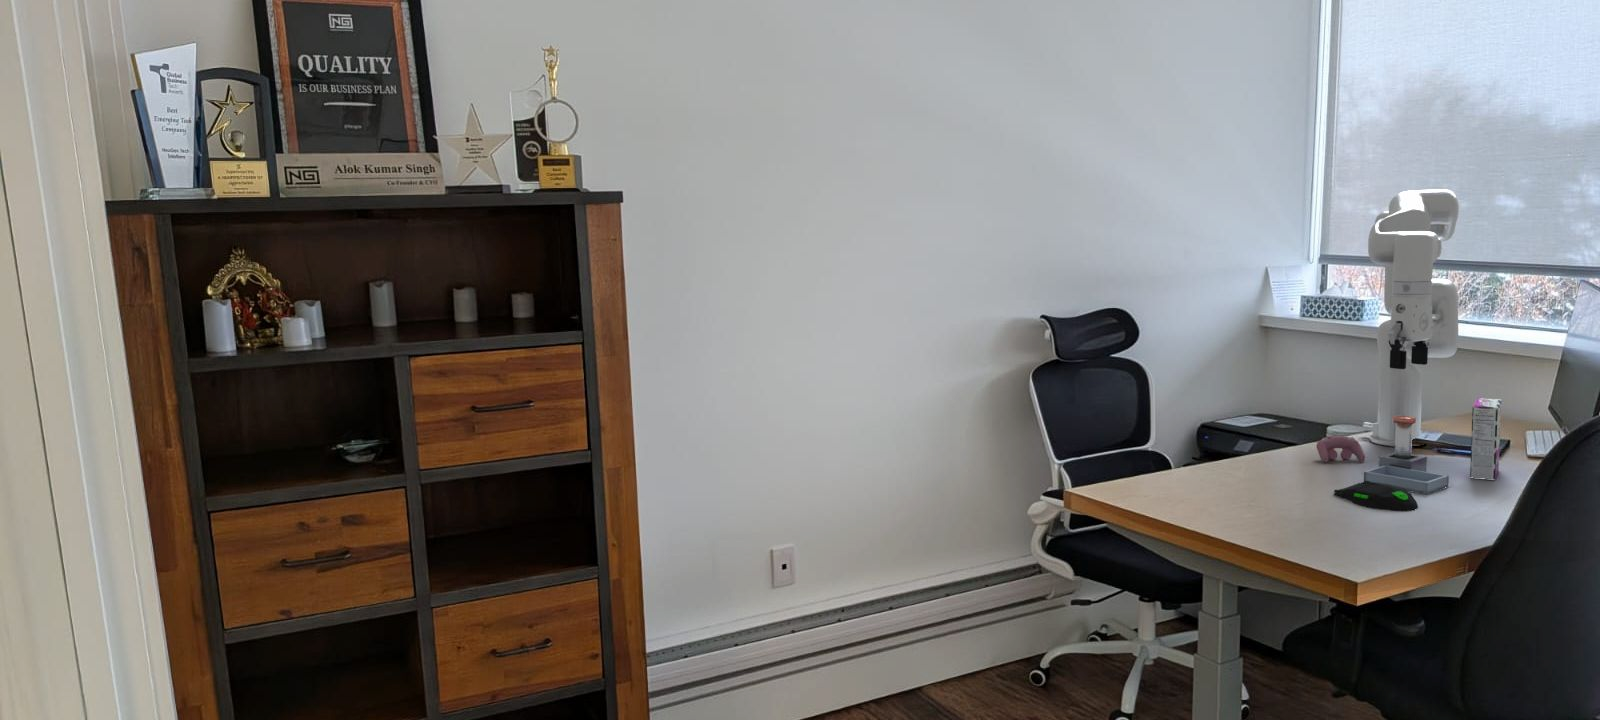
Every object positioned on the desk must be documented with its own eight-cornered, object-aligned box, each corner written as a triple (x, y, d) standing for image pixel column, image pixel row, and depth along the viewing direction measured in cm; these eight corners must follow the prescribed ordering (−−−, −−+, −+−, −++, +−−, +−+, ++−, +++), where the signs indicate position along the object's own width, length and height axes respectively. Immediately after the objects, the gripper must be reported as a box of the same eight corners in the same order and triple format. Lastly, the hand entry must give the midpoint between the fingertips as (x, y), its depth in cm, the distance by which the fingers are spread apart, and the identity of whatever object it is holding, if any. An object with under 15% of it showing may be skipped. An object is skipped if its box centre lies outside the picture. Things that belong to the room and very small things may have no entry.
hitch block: (1378, 473, 234) (1378, 456, 233) (1393, 468, 237) (1394, 451, 237) (1410, 479, 228) (1411, 461, 227) (1426, 474, 232) (1426, 456, 231)
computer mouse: (1384, 516, 203) (1385, 496, 203) (1321, 496, 219) (1322, 477, 218) (1430, 510, 206) (1431, 491, 206) (1365, 490, 222) (1366, 472, 221)
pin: (1386, 473, 233) (1388, 417, 232) (1396, 470, 236) (1399, 414, 234) (1407, 477, 230) (1410, 420, 228) (1417, 474, 232) (1420, 417, 230)
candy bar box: (1472, 467, 236) (1476, 397, 234) (1498, 470, 233) (1502, 398, 231) (1468, 478, 227) (1471, 405, 225) (1495, 481, 224) (1499, 407, 222)
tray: (1363, 482, 226) (1363, 471, 226) (1384, 475, 232) (1385, 465, 231) (1427, 494, 216) (1427, 482, 215) (1448, 487, 221) (1448, 475, 220)
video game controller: (1359, 465, 248) (1354, 437, 250) (1367, 461, 243) (1362, 432, 246) (1316, 466, 249) (1312, 438, 251) (1323, 461, 244) (1319, 433, 247)
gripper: (1410, 292, 219) (1407, 372, 221) (1448, 287, 229) (1445, 363, 231) (1374, 291, 225) (1371, 368, 227) (1412, 286, 235) (1409, 361, 237)
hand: (1408, 366), depth 229 cm, fingers open, 9 cm apart
